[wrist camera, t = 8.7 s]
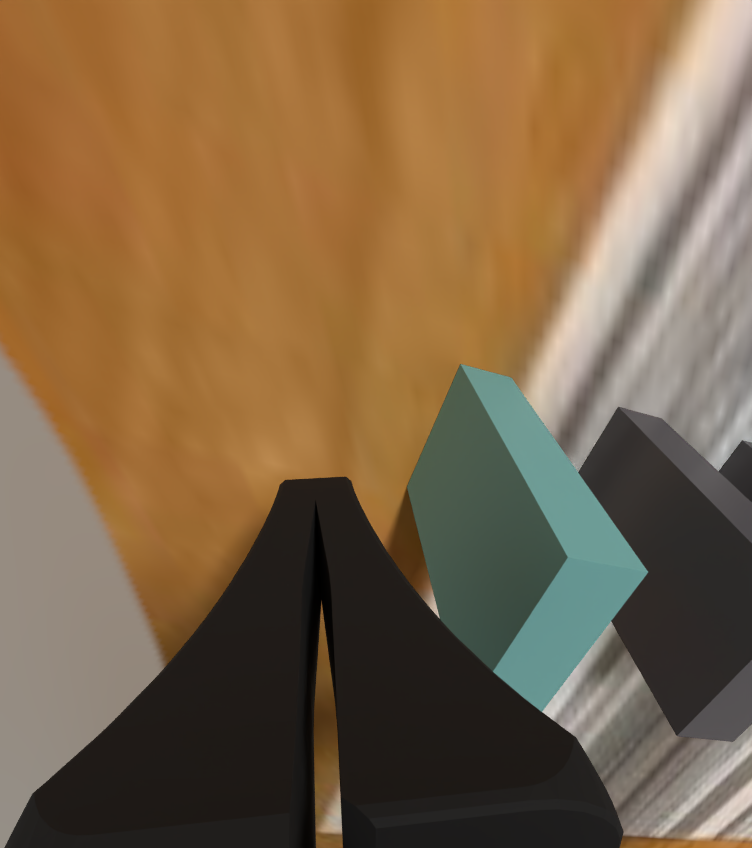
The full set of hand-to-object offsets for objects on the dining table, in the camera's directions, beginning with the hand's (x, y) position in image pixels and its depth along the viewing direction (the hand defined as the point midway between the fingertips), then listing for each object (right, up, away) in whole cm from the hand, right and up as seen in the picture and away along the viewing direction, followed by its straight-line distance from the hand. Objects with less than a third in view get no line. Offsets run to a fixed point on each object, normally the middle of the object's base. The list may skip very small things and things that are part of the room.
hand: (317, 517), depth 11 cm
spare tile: (+4, +2, +5) cm, 7 cm away
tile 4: (+9, 0, +7) cm, 11 cm away
